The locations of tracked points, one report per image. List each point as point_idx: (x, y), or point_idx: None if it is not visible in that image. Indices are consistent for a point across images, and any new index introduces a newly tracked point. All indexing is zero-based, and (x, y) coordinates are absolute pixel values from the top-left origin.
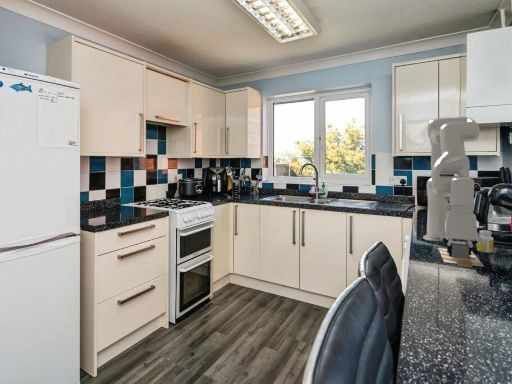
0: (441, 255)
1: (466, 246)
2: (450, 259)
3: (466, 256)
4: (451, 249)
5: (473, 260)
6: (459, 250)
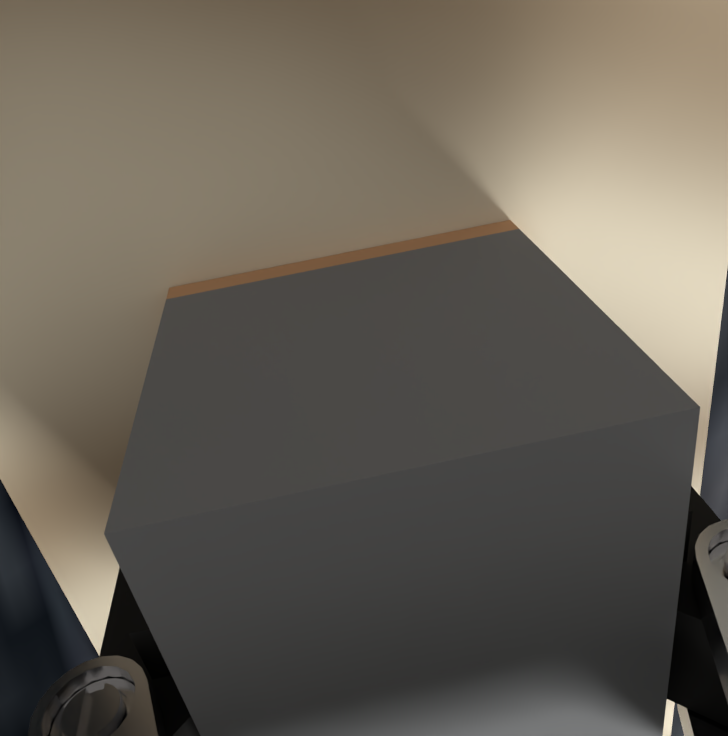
0: (715, 319)
1: (196, 511)
2: (571, 26)
3: (206, 313)
4: None
5: (55, 298)
6: (410, 357)
